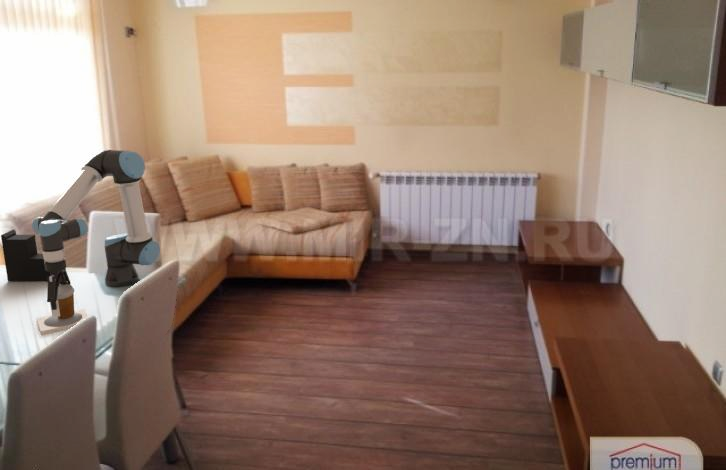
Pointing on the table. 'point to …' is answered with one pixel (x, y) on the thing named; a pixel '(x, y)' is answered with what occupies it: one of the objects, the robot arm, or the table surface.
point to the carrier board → (59, 322)
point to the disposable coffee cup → (65, 301)
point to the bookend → (23, 258)
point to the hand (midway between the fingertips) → (62, 309)
